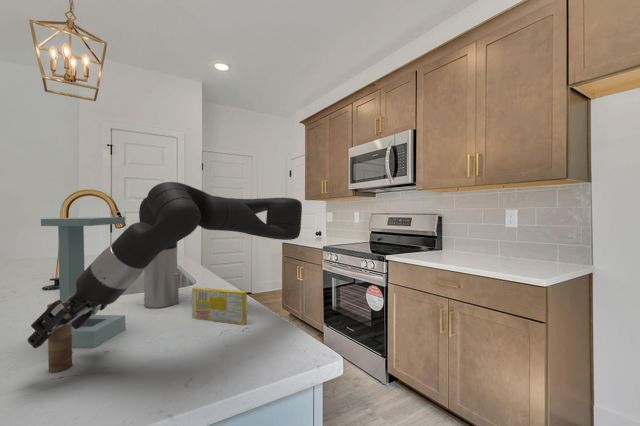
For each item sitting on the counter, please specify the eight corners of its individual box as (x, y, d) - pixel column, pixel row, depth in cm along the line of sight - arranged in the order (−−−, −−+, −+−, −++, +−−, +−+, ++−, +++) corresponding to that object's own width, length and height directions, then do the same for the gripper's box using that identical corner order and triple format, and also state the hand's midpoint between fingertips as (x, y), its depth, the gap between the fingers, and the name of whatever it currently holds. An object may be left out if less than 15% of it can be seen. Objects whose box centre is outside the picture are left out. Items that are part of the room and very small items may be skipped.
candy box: (247, 322, 81) (247, 290, 81) (243, 325, 79) (242, 293, 79) (196, 316, 86) (196, 286, 86) (191, 318, 84) (190, 288, 84)
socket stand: (126, 328, 77) (124, 217, 77) (92, 348, 66) (90, 218, 66) (84, 328, 78) (82, 217, 77) (43, 348, 67) (40, 218, 66)
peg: (73, 361, 61) (72, 300, 60) (70, 369, 58) (69, 304, 58) (50, 366, 59) (49, 302, 59) (46, 374, 56) (45, 307, 56)
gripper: (98, 298, 50) (31, 368, 51) (150, 278, 65) (97, 333, 65) (66, 265, 50) (-1, 335, 51) (124, 252, 65) (72, 307, 65)
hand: (54, 334), depth 58 cm, fingers open, 8 cm apart
